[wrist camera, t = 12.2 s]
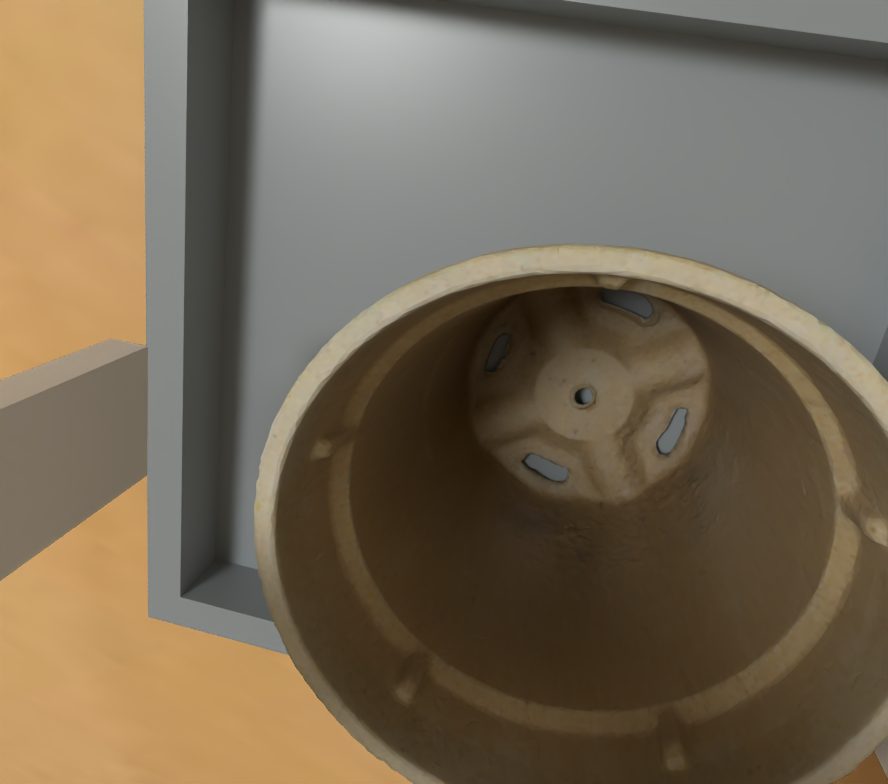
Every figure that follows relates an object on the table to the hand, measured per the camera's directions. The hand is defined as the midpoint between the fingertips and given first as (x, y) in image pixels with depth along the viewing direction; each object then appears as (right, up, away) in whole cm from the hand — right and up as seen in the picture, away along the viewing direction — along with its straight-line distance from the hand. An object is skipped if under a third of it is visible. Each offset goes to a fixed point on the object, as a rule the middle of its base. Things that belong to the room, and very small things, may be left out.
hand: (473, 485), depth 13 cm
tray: (+1, +3, +6) cm, 7 cm away
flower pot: (+3, +2, +5) cm, 6 cm away
